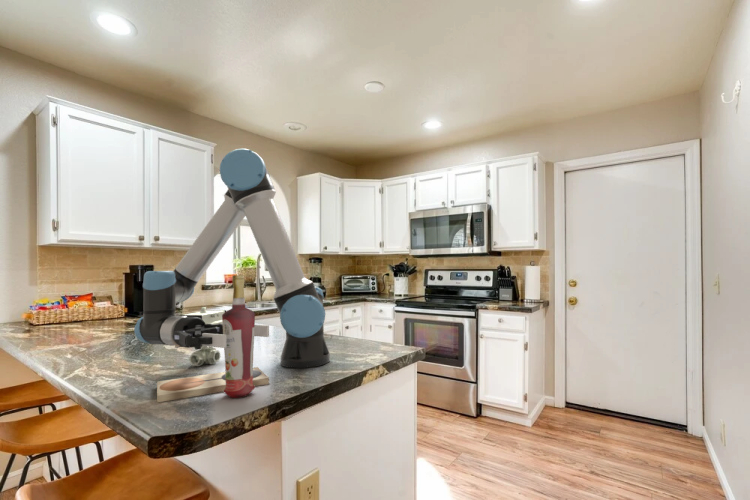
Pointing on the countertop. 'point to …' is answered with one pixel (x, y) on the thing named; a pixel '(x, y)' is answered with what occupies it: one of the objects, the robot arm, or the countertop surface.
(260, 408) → the countertop surface
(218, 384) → the board
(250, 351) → the liquor
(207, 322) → the ball valve
